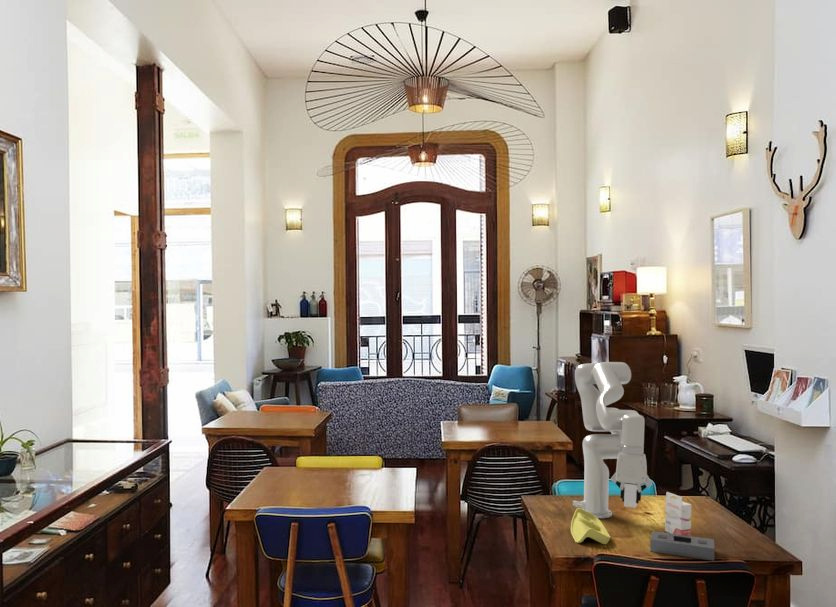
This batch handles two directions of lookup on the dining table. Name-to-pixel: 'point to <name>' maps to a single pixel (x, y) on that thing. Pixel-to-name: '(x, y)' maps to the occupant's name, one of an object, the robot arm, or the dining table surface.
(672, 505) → the ink cartridge box
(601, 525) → the plastic component
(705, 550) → the grey slotted block
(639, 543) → the dining table surface
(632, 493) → the steel peg
